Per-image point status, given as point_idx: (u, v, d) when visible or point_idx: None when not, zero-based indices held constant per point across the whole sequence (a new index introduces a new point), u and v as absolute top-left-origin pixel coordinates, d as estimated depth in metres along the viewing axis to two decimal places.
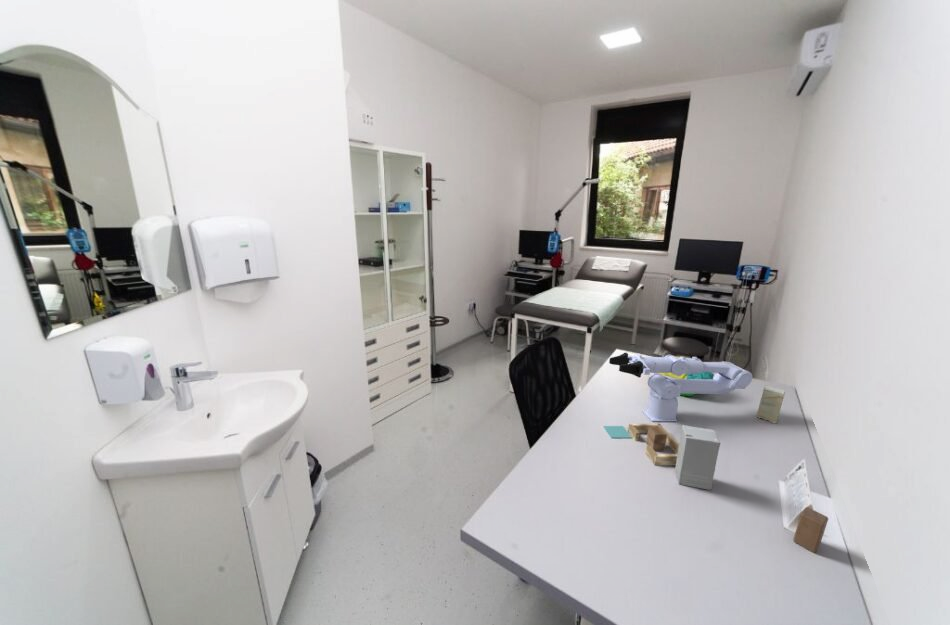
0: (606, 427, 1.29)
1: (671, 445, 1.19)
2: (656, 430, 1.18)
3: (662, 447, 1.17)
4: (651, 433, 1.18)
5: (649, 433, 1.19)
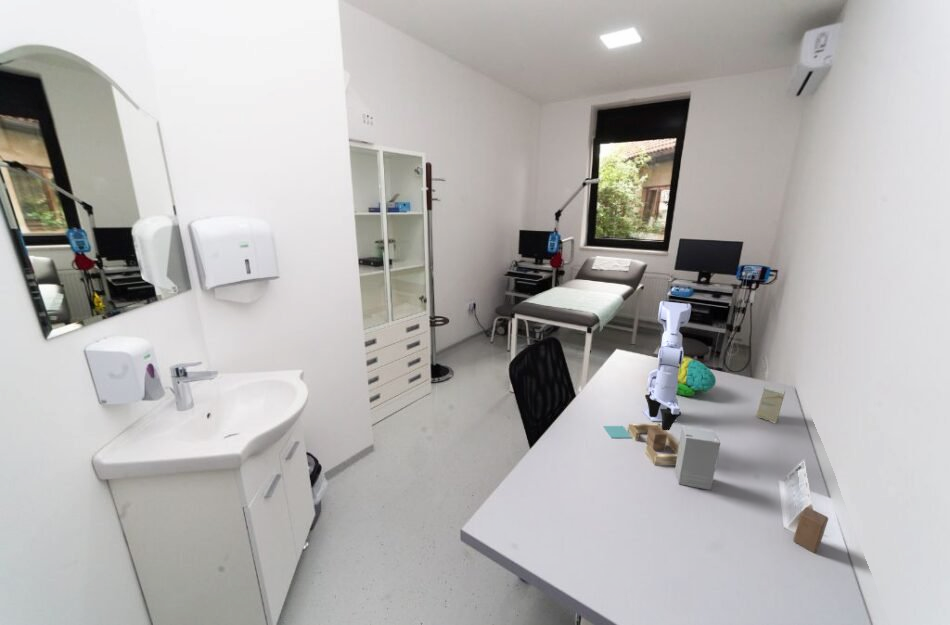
0: (606, 427, 1.29)
1: (671, 445, 1.19)
2: (656, 430, 1.18)
3: (662, 447, 1.17)
4: (651, 433, 1.18)
5: (649, 433, 1.19)
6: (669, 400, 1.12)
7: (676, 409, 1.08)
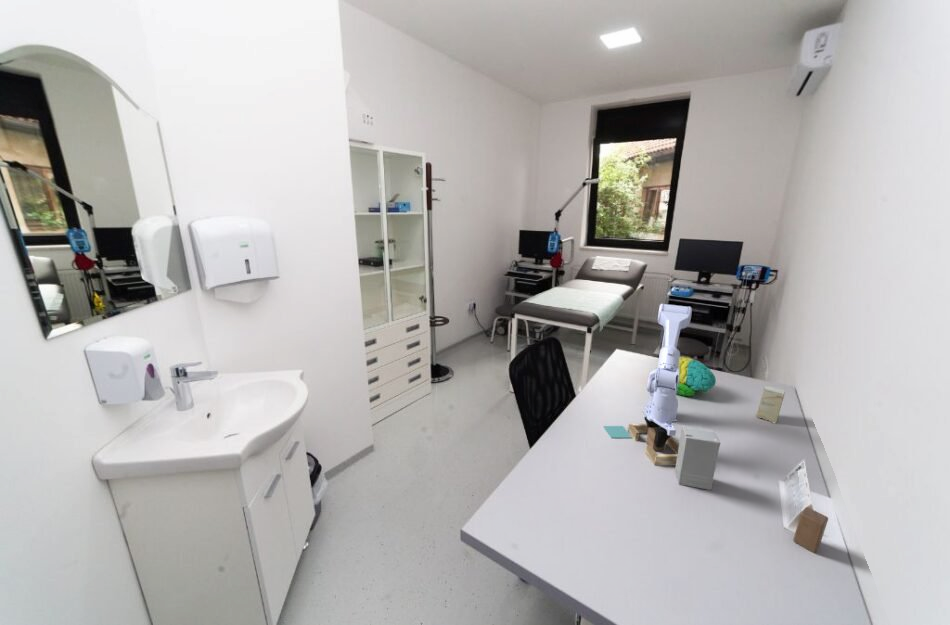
0: (606, 427, 1.29)
1: (671, 445, 1.19)
2: None
3: None
4: (651, 433, 1.18)
5: (649, 433, 1.19)
6: (665, 421, 1.14)
7: (672, 431, 1.10)
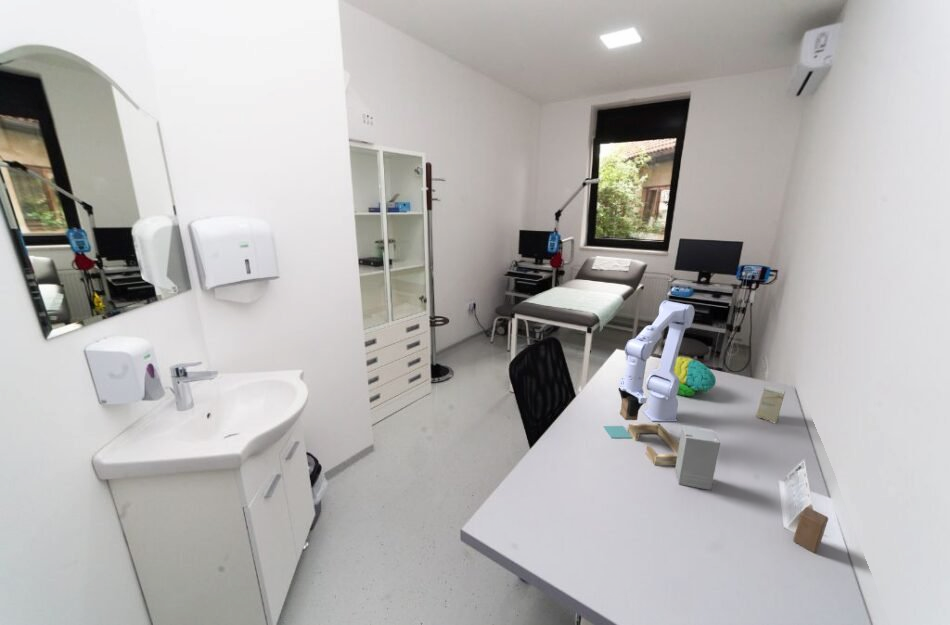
0: (606, 427, 1.29)
1: (671, 445, 1.19)
2: None
3: None
4: (625, 403, 1.22)
5: (623, 403, 1.23)
6: (637, 390, 1.18)
7: (643, 398, 1.14)
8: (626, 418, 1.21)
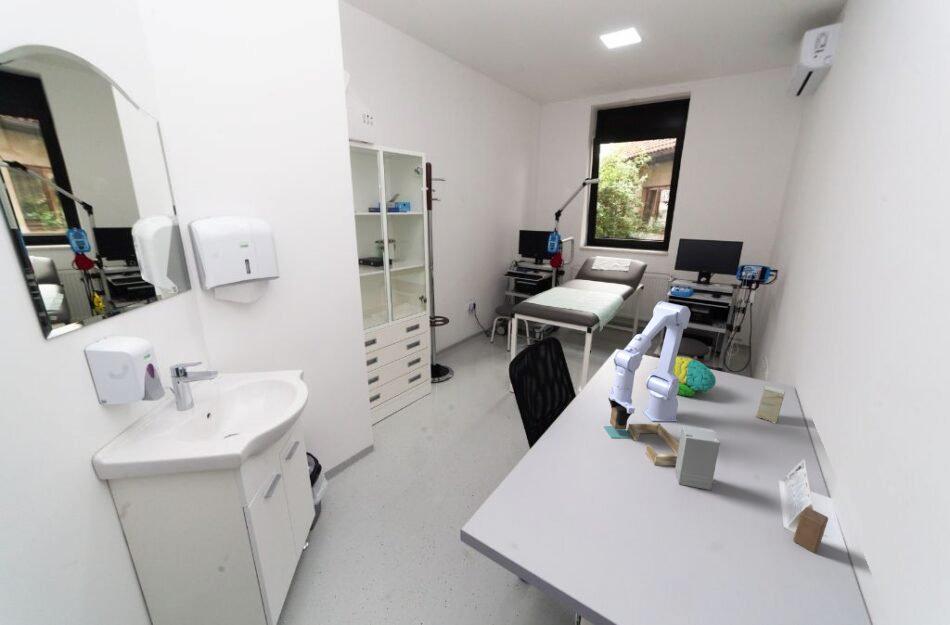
0: (606, 427, 1.29)
1: (671, 445, 1.19)
2: None
3: None
4: (614, 412, 1.25)
5: (612, 413, 1.26)
6: (626, 400, 1.21)
7: (631, 409, 1.17)
8: (615, 427, 1.24)
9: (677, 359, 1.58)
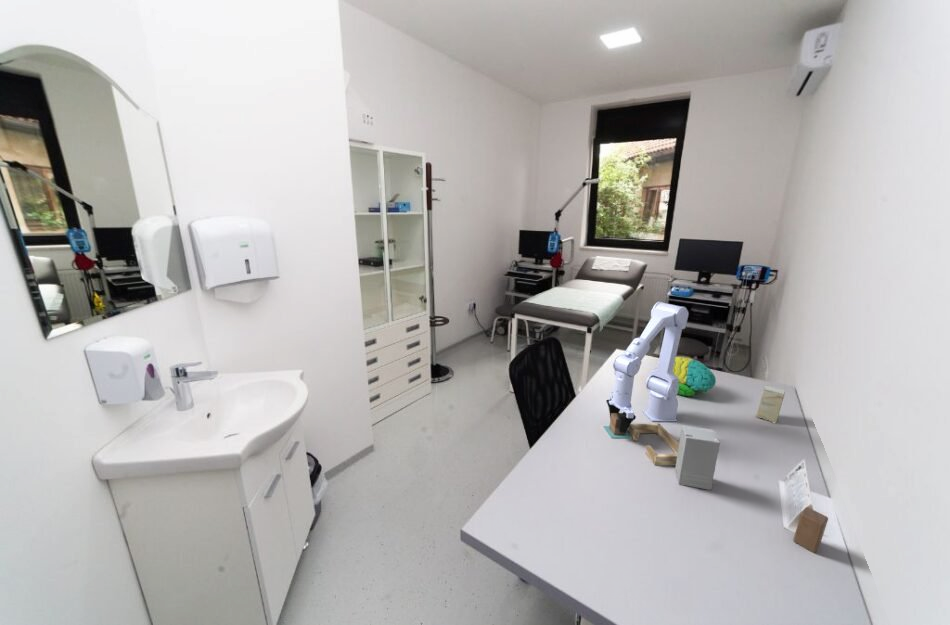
0: (606, 427, 1.29)
1: (671, 445, 1.19)
2: None
3: None
4: (613, 418, 1.25)
5: (611, 418, 1.27)
6: (625, 405, 1.21)
7: (630, 413, 1.17)
8: (615, 433, 1.25)
9: (677, 359, 1.58)
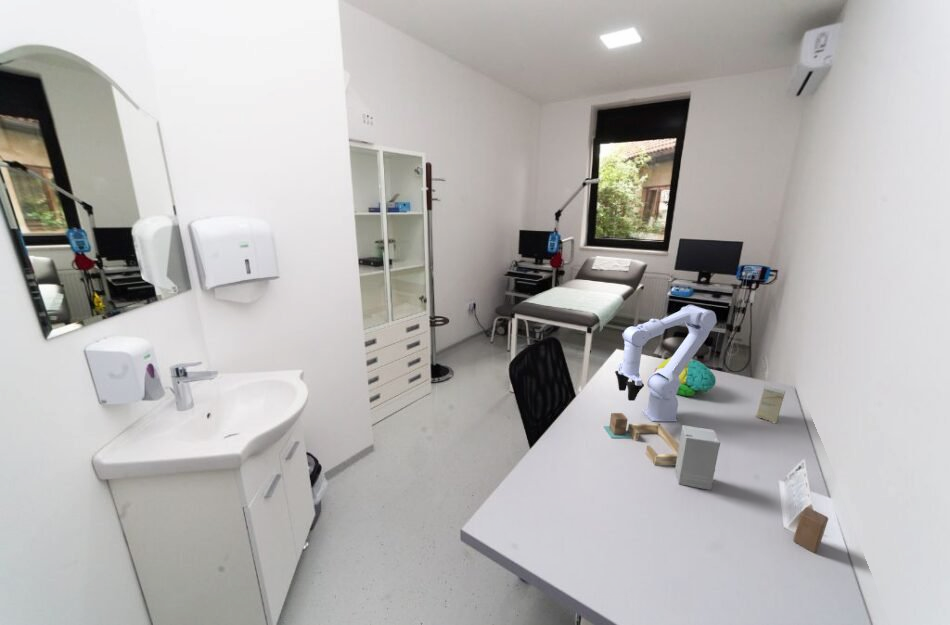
0: (606, 427, 1.29)
1: (671, 445, 1.19)
2: (618, 415, 1.26)
3: (623, 431, 1.25)
4: (613, 418, 1.25)
5: (611, 418, 1.27)
6: (634, 374, 1.28)
7: (639, 381, 1.24)
8: (615, 433, 1.25)
9: None
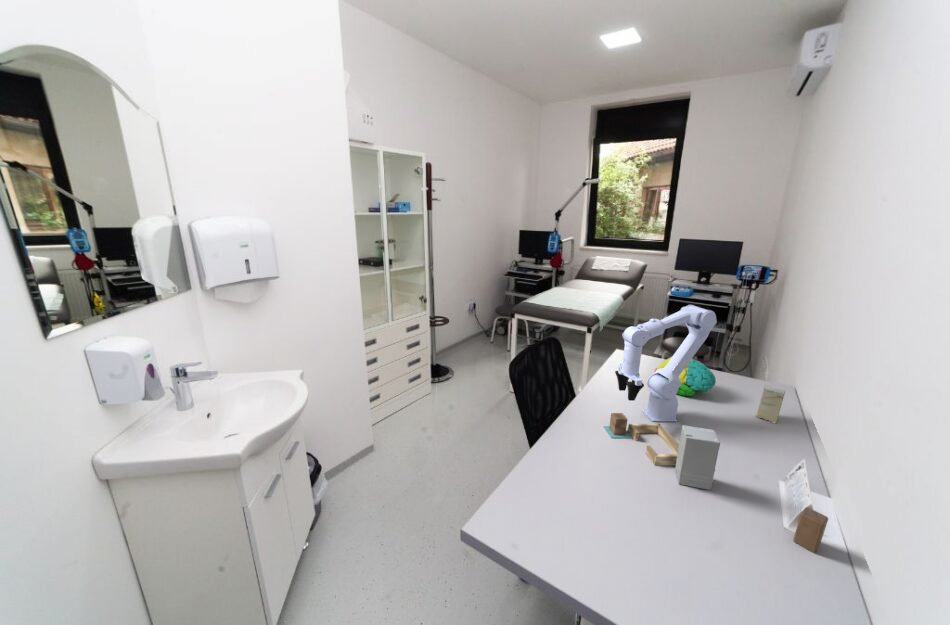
0: (606, 427, 1.29)
1: (671, 445, 1.19)
2: (618, 415, 1.26)
3: (623, 431, 1.25)
4: (613, 418, 1.25)
5: (611, 418, 1.27)
6: (634, 374, 1.28)
7: (639, 381, 1.24)
8: (615, 433, 1.25)
9: None
